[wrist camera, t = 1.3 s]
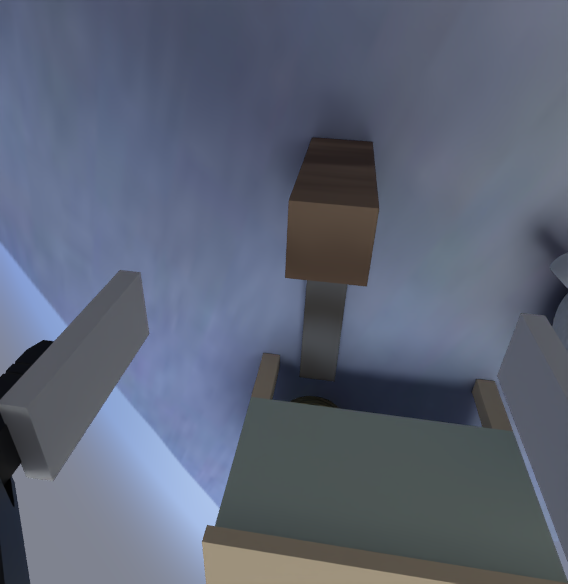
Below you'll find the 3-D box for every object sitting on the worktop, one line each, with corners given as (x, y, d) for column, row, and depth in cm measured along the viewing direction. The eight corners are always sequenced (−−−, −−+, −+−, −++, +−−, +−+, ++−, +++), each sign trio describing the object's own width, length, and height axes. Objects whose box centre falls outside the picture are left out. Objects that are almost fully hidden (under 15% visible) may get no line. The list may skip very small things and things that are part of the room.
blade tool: (312, 137, 31) (288, 200, 20) (372, 141, 30) (379, 208, 20) (296, 361, 41) (275, 476, 31) (341, 366, 40) (335, 485, 30)
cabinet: (258, 348, 41) (202, 541, 26) (500, 378, 39) (588, 605, 24) (257, 437, 47) (211, 633, 32) (466, 466, 45) (519, 690, 30)
